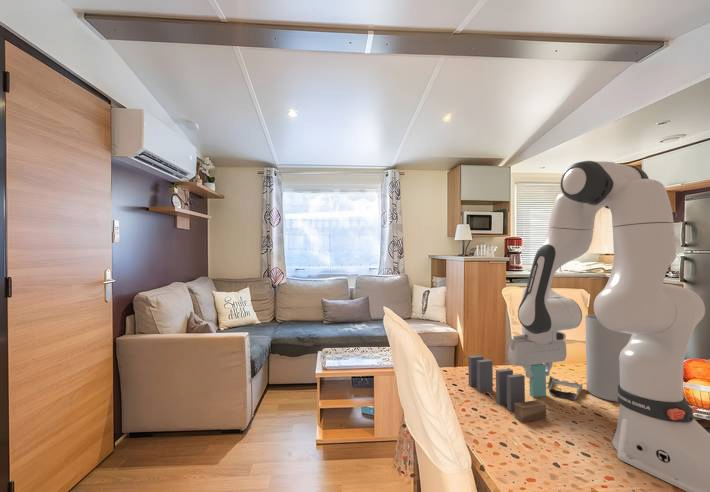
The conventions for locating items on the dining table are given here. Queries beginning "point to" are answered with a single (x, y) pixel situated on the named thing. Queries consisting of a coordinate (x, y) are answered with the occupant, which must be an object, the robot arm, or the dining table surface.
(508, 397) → the domino
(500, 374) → the domino
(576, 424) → the dining table surface
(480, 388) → the domino
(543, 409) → the end block
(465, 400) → the dining table surface
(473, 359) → the domino
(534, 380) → the teal domino
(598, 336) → the cylinder vase
